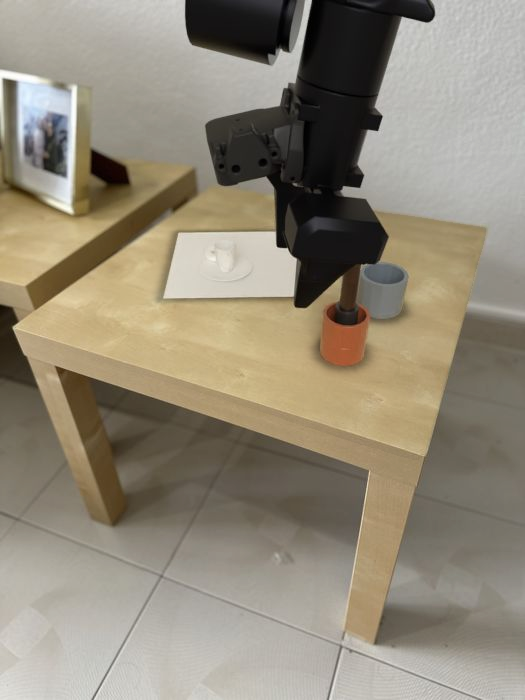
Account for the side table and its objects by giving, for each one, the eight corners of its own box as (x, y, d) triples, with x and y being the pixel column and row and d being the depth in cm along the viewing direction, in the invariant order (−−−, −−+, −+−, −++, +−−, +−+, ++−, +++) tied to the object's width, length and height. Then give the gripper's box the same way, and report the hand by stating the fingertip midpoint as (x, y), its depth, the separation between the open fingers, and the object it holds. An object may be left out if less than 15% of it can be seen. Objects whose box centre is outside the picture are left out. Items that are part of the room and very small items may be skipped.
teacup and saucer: (201, 254, 79) (198, 230, 77) (252, 253, 79) (251, 229, 77) (196, 284, 72) (194, 258, 70) (252, 283, 72) (252, 257, 70)
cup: (410, 306, 68) (417, 274, 65) (383, 324, 65) (389, 291, 62) (374, 289, 71) (379, 257, 68) (346, 305, 68) (350, 272, 65)
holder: (373, 352, 60) (379, 314, 57) (344, 372, 58) (349, 333, 54) (339, 333, 63) (343, 295, 60) (310, 351, 61) (313, 312, 57)
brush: (359, 335, 59) (372, 249, 52) (345, 344, 58) (356, 257, 51) (342, 325, 60) (352, 240, 53) (327, 334, 59) (336, 248, 52)
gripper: (211, 32, 40) (194, 215, 50) (233, 112, 26) (203, 341, 36) (345, 55, 42) (303, 225, 52) (430, 140, 29) (350, 347, 39)
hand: (290, 274), depth 45 cm, fingers open, 9 cm apart
